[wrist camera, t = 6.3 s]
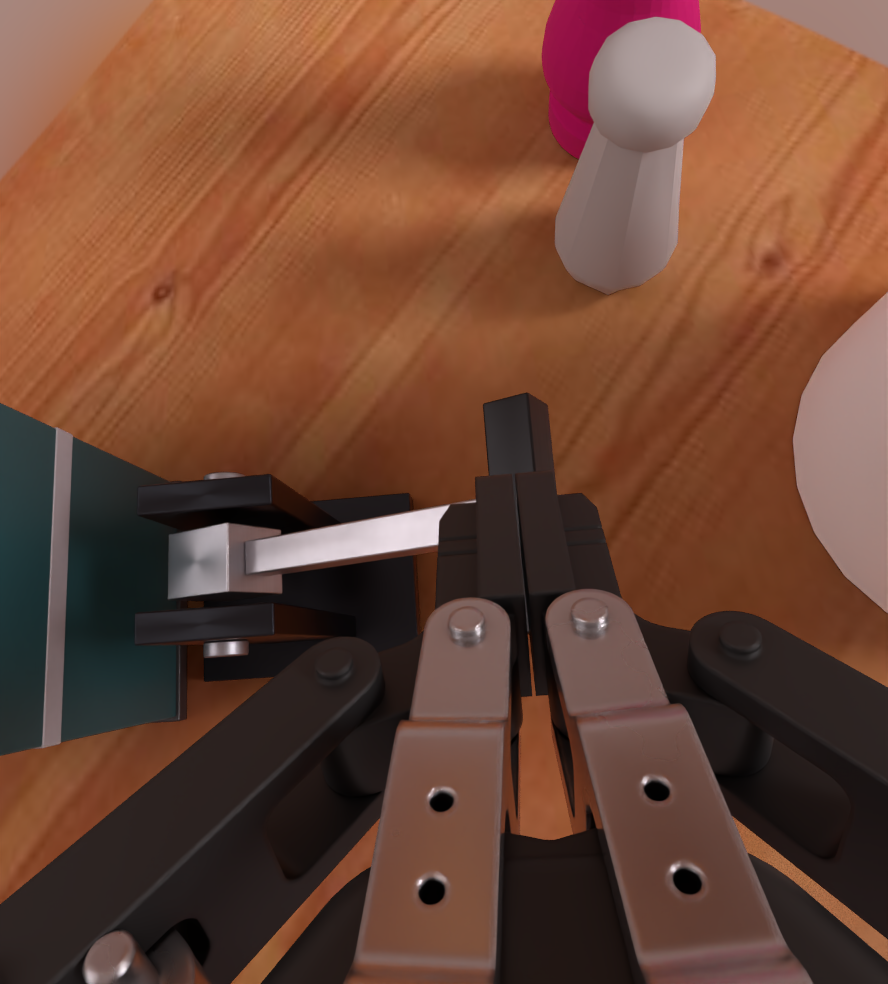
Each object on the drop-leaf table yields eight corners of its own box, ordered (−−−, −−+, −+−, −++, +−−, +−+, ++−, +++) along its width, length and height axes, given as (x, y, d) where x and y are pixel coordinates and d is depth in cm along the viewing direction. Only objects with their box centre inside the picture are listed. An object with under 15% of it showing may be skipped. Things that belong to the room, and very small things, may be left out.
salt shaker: (679, 218, 37) (766, -3, 24) (653, 321, 36) (729, 146, 23) (566, 195, 38) (593, -29, 25) (538, 295, 37) (551, 113, 24)
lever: (556, 408, 20) (518, 385, 18) (579, 630, 19) (541, 632, 17) (223, 488, 26) (168, 478, 24) (224, 656, 25) (166, 660, 23)
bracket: (412, 497, 35) (356, 418, 23) (422, 666, 34) (368, 681, 21) (213, 514, 36) (54, 448, 24) (213, 680, 34) (43, 702, 22)
